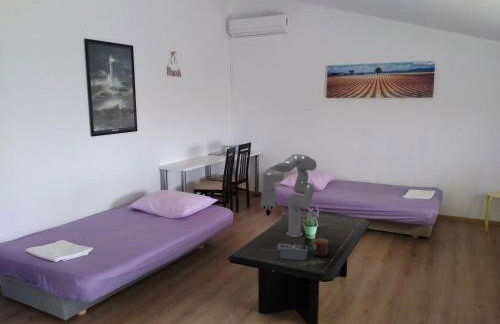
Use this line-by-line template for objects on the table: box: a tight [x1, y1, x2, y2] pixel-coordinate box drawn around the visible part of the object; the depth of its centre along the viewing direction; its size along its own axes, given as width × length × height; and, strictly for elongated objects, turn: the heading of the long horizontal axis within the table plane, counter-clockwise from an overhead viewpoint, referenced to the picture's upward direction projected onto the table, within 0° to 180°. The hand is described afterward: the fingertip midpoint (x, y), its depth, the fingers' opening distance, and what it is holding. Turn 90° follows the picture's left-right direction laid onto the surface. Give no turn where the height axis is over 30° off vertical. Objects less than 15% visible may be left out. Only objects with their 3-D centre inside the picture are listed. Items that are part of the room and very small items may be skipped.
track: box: [258, 248, 279, 253], centre depth 276 cm, size 3×14×1 cm, turn 80°
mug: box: [310, 237, 329, 258], centre depth 266 cm, size 12×9×10 cm
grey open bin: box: [278, 243, 308, 261], centre depth 265 cm, size 12×18×7 cm, turn 80°
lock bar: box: [277, 242, 295, 251], centre depth 273 cm, size 2×14×6 cm, turn 80°
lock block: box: [289, 244, 299, 249], centre depth 266 cm, size 8×6×6 cm
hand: (268, 215), depth 279 cm, fingers closed
